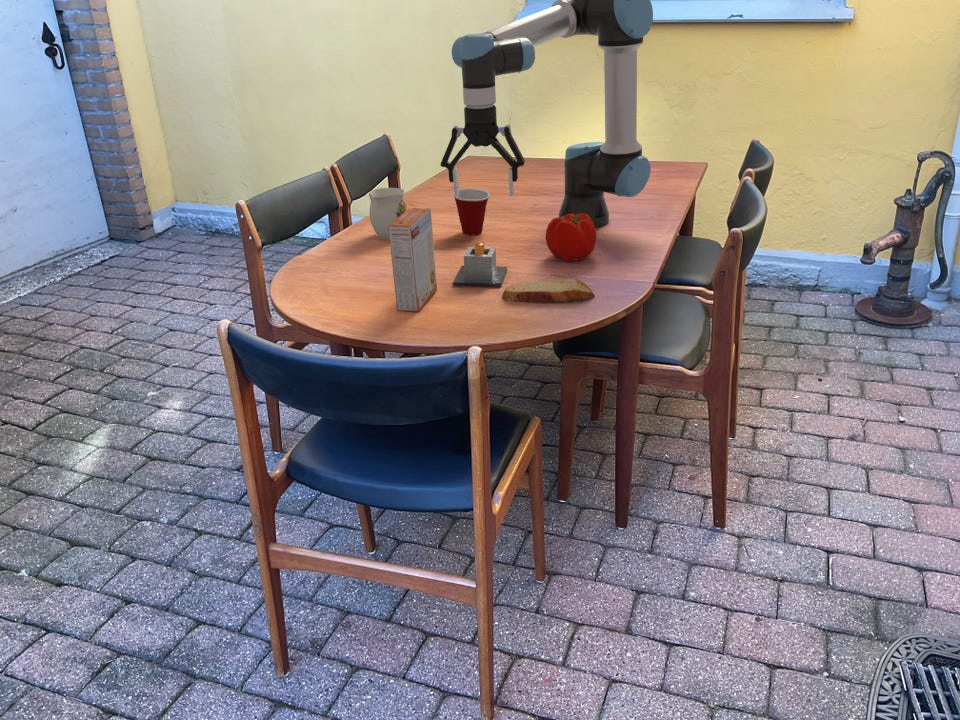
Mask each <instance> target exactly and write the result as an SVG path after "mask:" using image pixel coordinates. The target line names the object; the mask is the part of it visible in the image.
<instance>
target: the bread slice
mask: <svg viewBox="0 0 960 720" xmlns="http://www.w3.org/2000/svg"><path fill="white" fill-rule="evenodd" d="M595 297H596V296H595V293H594V291H593V290H592V289H591V288H590V287H589V286H588V285H587V284H586V283H585V282H583V281H581V280H579V279H577V278H561V277H558V278H545V279H539V280H533V281H527V282H526V281H525V282H522V283H521V282H520V283H517V284H514V285H510V286H508V287H506V288H505V289H504V291H503V293H502V295H501V299H502V300H503V301H505V302H513V303H528V304H529V303H532V304H534V303H535V304H536V303H537V304H538V303H539V304H549V303H550V304H556V303H557V304H561V303H562V304H563V303H573V302H584V301H588V300H591V299H593V298H595Z"/></svg>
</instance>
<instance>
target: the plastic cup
mask: <svg viewBox="0 0 960 720" xmlns="http://www.w3.org/2000/svg"><path fill="white" fill-rule="evenodd" d="M452 195H453V196H452V197H453V198H454V201H455V204H456V208H457V212H458V219H459V223H460V226H461V227H460V228H461V232H462V234H463V235H465V236H469V237H470V236H479V235H481V234H482V233H483V229H484V222H485V216H486V215H485V214H486V209H487V205H488V201H489V198H490V197H491V194H490V193H489V192H488V191H486V190H483V189H478V188H462V189H459V195H458V196H456V197H454V192H452Z"/></svg>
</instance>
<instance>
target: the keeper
mask: <svg viewBox="0 0 960 720" xmlns="http://www.w3.org/2000/svg"><path fill="white" fill-rule="evenodd" d="M474 247H475V255H485V250H484V247H485V243H484V242H475V243H474ZM507 272H508V266H497V265H496V272H495V274H494V277H493V279H492V280H489V279H465V274H464V265H461V266H460V268H459V270H458V272H457V274H456V275H455V278H454V280H453V282H452V286H453V287H471V288H472V287H473V288H475V287H478V288H479V287H481V288H484V287H485V288H502V286H503V283H504V281H505V278H506V274H507Z"/></svg>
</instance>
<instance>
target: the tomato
mask: <svg viewBox="0 0 960 720" xmlns="http://www.w3.org/2000/svg"><path fill="white" fill-rule="evenodd" d="M596 242H597V228H596V227H595V226H594V222H593V221H592V220H591V219H590V217H589V215H587V214H584V213H580V214H579V215H578V214H576V215H575V214H567V215H565V216H563V217H561V218H559V216H557V217H554V218H552V219H551V220H550V222H549V223H548V224H547V227H546V230H545V243H546V246H547V248H548V250H549V251H550V252H551V254H552V255H554V256H555V257H557V258H558V259H563V260H565V261H567V262H571V261H572V262H573V261H581V260H584V259H586V258H588V257H589V256H590V255H591V254H592V253H593V252H594V250H595V248H596Z"/></svg>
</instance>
